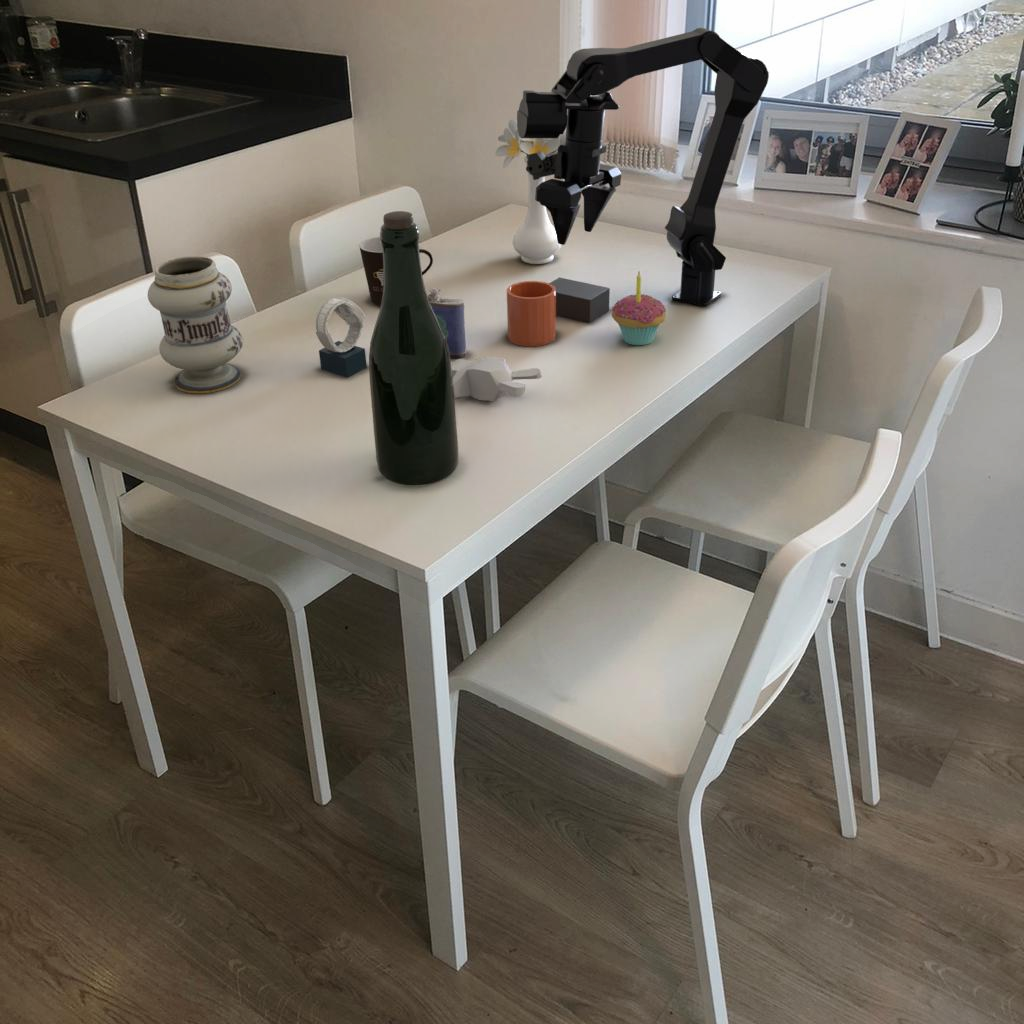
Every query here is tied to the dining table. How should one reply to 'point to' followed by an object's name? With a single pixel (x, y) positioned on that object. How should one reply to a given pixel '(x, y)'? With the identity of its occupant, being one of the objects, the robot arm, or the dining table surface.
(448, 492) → the dining table surface
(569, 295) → the black bar
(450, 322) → the flask
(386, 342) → the green wine bottle
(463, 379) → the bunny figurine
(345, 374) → the watch
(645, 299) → the cupcake
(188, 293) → the apothecary jar
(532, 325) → the terracotta cup
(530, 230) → the flower vase
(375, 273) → the coffee mug
